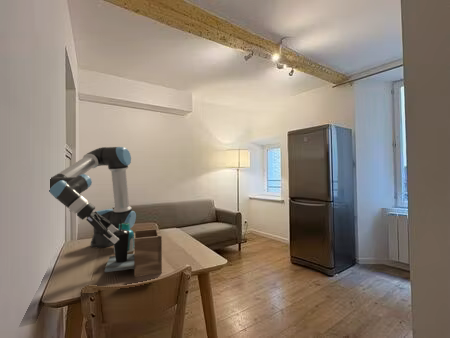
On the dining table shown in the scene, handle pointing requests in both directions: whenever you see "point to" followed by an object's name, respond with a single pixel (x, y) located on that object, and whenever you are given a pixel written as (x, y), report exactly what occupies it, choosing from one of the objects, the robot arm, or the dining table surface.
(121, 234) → the drinking cup
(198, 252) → the dining table surface
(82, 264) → the dining table surface
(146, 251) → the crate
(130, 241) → the vase
